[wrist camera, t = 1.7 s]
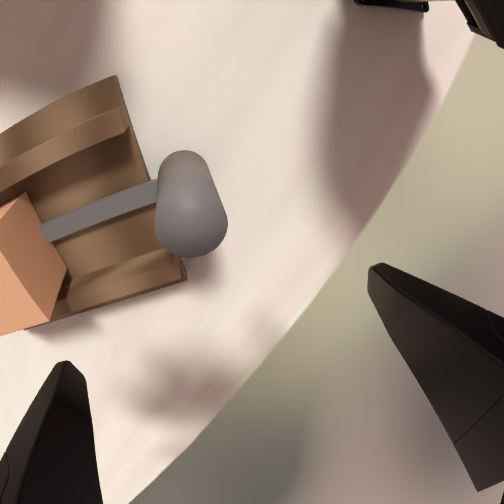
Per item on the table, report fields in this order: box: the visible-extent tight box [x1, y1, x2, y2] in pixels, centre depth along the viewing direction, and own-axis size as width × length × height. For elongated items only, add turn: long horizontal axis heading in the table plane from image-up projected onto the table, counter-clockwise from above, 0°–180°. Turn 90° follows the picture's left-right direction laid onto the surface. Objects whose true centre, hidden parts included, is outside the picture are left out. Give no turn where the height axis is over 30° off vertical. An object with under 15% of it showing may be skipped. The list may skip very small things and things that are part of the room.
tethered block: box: [0, 150, 228, 336], centre depth 15 cm, size 17×6×6 cm, turn 102°
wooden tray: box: [0, 75, 188, 330], centre depth 16 cm, size 15×14×3 cm
